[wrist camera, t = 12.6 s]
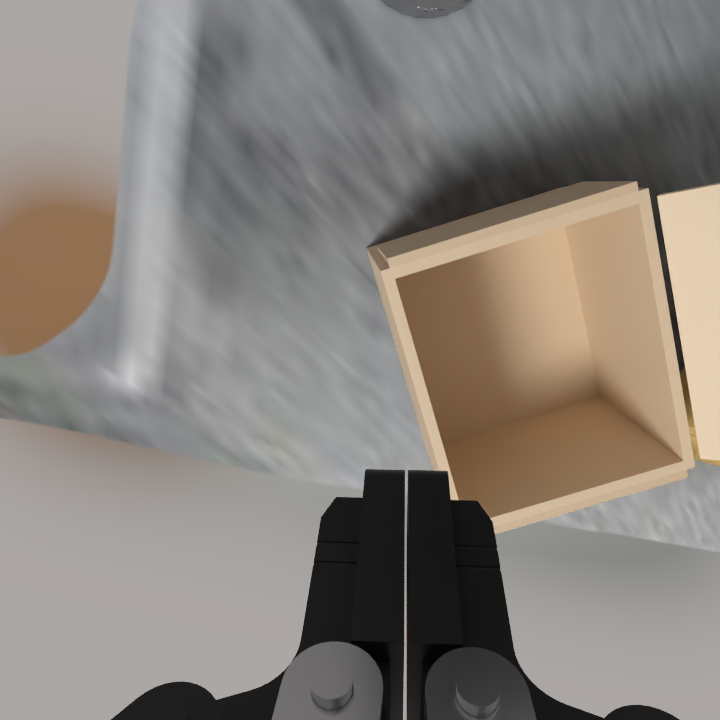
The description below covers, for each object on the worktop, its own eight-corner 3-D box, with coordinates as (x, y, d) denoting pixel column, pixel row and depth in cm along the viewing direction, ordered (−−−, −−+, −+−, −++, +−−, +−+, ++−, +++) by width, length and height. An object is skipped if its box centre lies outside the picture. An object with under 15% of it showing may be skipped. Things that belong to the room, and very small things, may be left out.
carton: (364, 240, 43) (377, 261, 32) (560, 179, 43) (646, 178, 31) (428, 457, 48) (460, 544, 37) (607, 404, 48) (696, 474, 36)
